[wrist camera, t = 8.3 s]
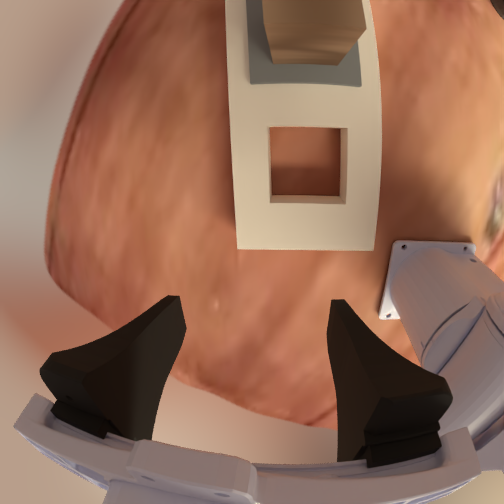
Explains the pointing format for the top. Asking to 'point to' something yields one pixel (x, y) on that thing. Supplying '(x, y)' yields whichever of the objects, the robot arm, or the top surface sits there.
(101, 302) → the top surface
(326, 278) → the top surface
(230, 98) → the pocket board
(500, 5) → the beverage cup
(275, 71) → the slate mat
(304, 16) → the walnut block
